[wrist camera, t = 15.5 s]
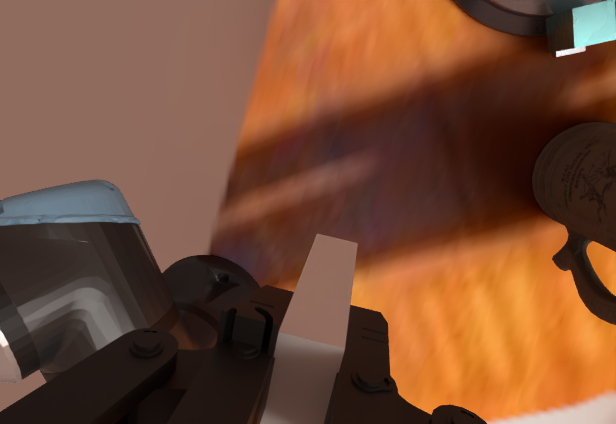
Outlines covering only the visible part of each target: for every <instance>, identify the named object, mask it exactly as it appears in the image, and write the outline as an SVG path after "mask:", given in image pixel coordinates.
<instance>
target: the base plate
mask: <svg viewBox="0 0 616 424" xmlns="http://www.w3.org/2000/svg"><path fill="white" fill-rule="evenodd" d="M454 1H455V2H456V3H457V5H458V6H459V7H460V8H461V9H462V10H463V11H465V12H466V13H467V14H468V15H469V16H471V17H472V18H473V19H475V20H477V21H478V22H480V23H481V24H483V25H485V26H487V27H490V28H492V29H494V30H497V31H500V32H504V33H508V34H512V35H520V36H545V35H547V34H546V18H549V17H545V18H530V17H521V16H517V15H513V14H509V13H506V12H504V11H501V10H499V9H496V8H495V7H493V6H491V5H490V4H488V3H486V2H485V1H484V0H454ZM603 1H607V0H602V1H600V2H603ZM597 3H599V2H597ZM615 9H616V0H615Z"/></svg>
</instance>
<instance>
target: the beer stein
mask: <svg viewBox="0 0 616 424" xmlns="http://www.w3.org/2000/svg"><path fill="white" fill-rule="evenodd" d="M532 186H533V193H534V196H535V199H536V201H537V202H538V204H539V206H540V207H541V209H542V210H543V211H544V212H545V213H546V214H547V215H548V216H549V217H550V218H552V219H553V220H555V221H557V222H559V223H561V224H563V225H565V227H566V228H567V231H568V234H569V235H568V241H567V242H566V244H565V245H564V246H563V248H562V249H561V250H560V251H559V252H558V253H556V254H555V255H554V256H553V258H552V260H553V261H554V263H555V264H556V266H558V267H559V268H560V269H561V270H563V271H567V270H571V272H572V274H573V278H574V281H575V285H576V287H577V290H578V293H579V296H580V298H581V299H582V301H583V302H584V304H585V306H586V307H587V308H588V309H589V310H590V312H592V313H593V314H594V315H596V316H597V317H598V318H600V319H602V320H604V321H606V322H608V323H611V324H614V325H616V296H614V295H613V294H611V292H610V291H609V290H608V289H607V288H606V287H605V286H604V285H603V283H602V282H601V281H600V279H599V278H598V276H597V275H596V273H595V271H594V269H593V268H592V265H591V263H590V260H589V258H588V256H587V253H586V249H587V246H588V244H589V243H590V242H592V241H595V242H597V243H599V244H601V245H603V246H605V247H607V248H609V249H611V250H613V251H615V252H616V124H611V123H605V122H589V123H584V124H579V125H576V126H574V127H571V128H569V129H567V130H565V131H563V132H561V133H560V134H558V135H557V136H556V137H554V138H553V139H552V140H550V141H549V143H548V144H547V145H546V146H545V147H544V148H543V150H542V152H541V153H540V155H539V157H538V159H537V160H536V163H535V167H534V170H533V174H532Z"/></svg>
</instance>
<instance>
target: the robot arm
mask: <svg viewBox="0 0 616 424" xmlns="http://www.w3.org/2000/svg"><path fill="white" fill-rule="evenodd" d="M139 225H140V221H139V220H138V219H137V218H135V217H134V215H133V213H132V211H131V210H130V208H129V206H128V204H127V202H126V200H125V198H124V197H123V195H122V193H121V191H120V190H119V189H118V188H117V187H116V186H115V185H114V184H112V183H110V182H108V181H104V180H88V181H81V182H75V183H70V184H65V185H60V186H55V187H50V188H46V189H41V190H37V191H32V192H28V193H24V194H20V195H16V196H12V197H8V198H5V199H3V200H0V382H8V383H17V382H19V381H20V380H22V379H24V378H26V377H27V376H29V375H30V374H32V373H34V372H35V371H37V370H40V372H41V373H42V375H43V376H44V378H45V380H46V382H47V383H45V384H44V385H42V386H41V387H39V388H37V389H36V390H34V391H33V392H31V393H30V394H28V395H26V396H25V397H24V398H22V399H20V400H18V401H17V402H15V403H14V404H12V405H10V406H9V407H7V408H6V409H4V410H3V411H1V412H0V424H487V423H486V422H485V421H484V420H483V419H481V418H480V417H479V416H477V415H476V414H475V413H473V412H471V411H469V410H467V409H465V408H462V407H458V406H454V405H441V406H439V407H437V408H436V409H434V410H433V413H432V415H430V414H428V413H427V412H425V411H423V410H421V409H419V408H417V407H415V406H413V405H412V404H410V403H408V402H407V401H406V400H405V399H403V398H402V397H401V396H400V395H399V394H398V389H397V386H396V383H395V381H394V379H393V378H392V377H391V376H390V361H389V345H388V343H389V339H388V323H387V321H386V320H385V318H384V317H383V315H382V314H381V312H377V311H373V310H369V309H365V308H361V307H357V306H353V305H350V302H351V294H352V286H353V277H354V269H355V261H356V252H357V244H358V243H355V242H350V241H346V240H342V239H338V238H333V237H329V236H325V235H321V234H317V235H316V238H315V241H314V243H313V246H312V248H311V251H310V253H309V256H308V258H307V261H306V263H305V266H304V269H303V271H302V274H301V276H300V279H299V281H298V284H297V286H296V289H295V291H294V292H292V291H288V290H284V289H280V288H276V287H272V286H268V285H265V286H264V287H262V288H260V287H259V285H258V284H257V282H256V281H255V280H254V279H253V278H252V276H251V275H250V274H248V273H247V272H246V271H245V270H244V269H242V268H241V267H240V266H238V265H236V264H235V263H233V262H231V261H228V260H226V259H223V258H220V257H216V256H210V255H196V256H190V257H187V258H184V259H181V260H179V261H177V262H175V263H174V264H172V265H171V266H170V267H169V268H168V269H166V270H165V271H164V272H163V273H161V271H160V269H159V267H158V265H157V263H156V260H155V258H154V256H153V254H152V252H151V250H150V247H149V245H148V243H147V241H146V239H145V237H144V234H143V232H142V230H141V228H140V226H139ZM260 422H261V423H260Z"/></svg>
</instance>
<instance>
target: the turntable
mask: <svg viewBox="0 0 616 424" xmlns="http://www.w3.org/2000/svg"><path fill="white" fill-rule="evenodd" d="M484 1H485V2H486V3H488V4H490V5H491V6H493V7H495V8H496V9H499V10H501V11H504V12H506V13H509V14H513V15H517V16H521V17H530V18H545V17H549V18H546V34H547V49H548V53H550V52H552V55H553V57H559V56H564V55H568V54H573V53H578V52H582V51H585V46H588V45H592V44H597V43H602V42H606V41H611V40H616V21H615V0H607V1H603V2H600V1H602V0H484ZM597 2H599V3H597Z"/></svg>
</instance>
